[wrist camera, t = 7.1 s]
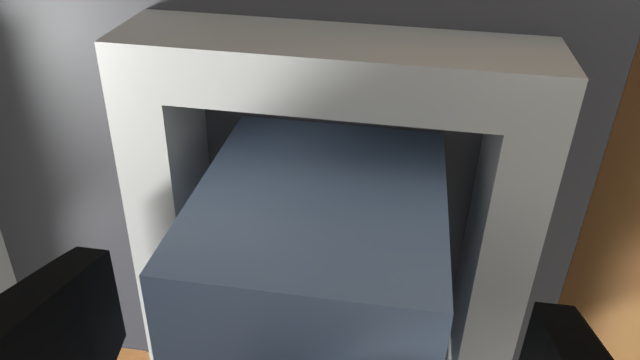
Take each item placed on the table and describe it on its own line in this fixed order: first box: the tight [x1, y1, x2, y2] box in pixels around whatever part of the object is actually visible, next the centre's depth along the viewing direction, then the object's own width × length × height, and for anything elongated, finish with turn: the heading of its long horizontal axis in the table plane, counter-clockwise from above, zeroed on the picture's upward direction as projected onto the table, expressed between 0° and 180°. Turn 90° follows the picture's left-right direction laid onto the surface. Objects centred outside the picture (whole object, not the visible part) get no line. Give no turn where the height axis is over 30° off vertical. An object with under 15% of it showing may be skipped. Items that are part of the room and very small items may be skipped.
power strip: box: [0, 0, 640, 360], centre depth 13 cm, size 10×24×4 cm, turn 89°
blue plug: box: [139, 116, 454, 360], centre depth 10 cm, size 5×4×7 cm
